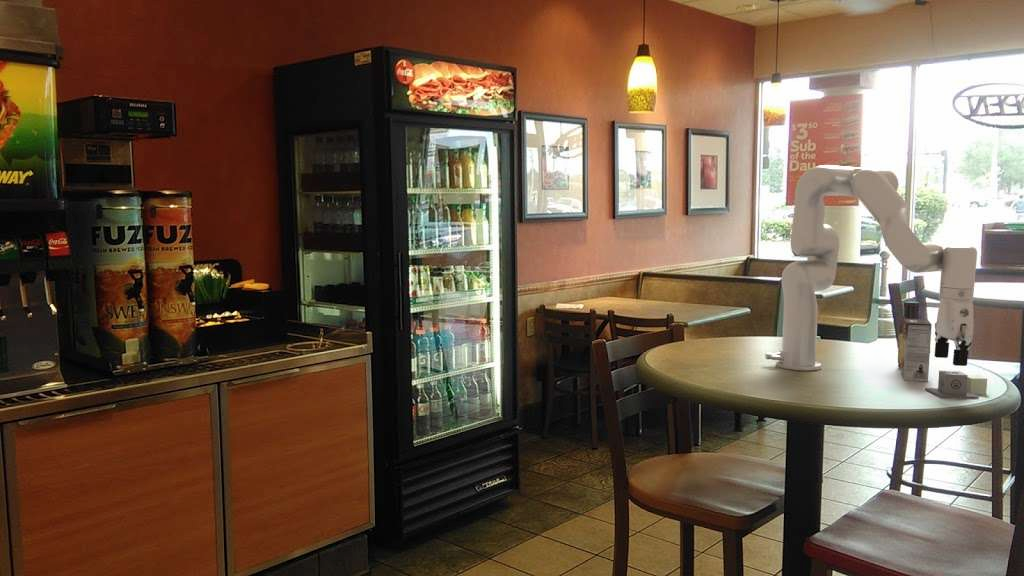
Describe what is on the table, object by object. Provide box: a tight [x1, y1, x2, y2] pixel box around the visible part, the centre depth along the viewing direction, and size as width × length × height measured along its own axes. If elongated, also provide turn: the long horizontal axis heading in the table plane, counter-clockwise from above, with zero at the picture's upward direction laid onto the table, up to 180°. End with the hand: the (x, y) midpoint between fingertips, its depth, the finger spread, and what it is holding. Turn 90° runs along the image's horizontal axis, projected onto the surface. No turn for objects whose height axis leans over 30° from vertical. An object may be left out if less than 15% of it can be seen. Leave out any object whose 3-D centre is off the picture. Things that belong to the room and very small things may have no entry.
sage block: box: [967, 374, 988, 395], centre depth 206 cm, size 4×4×4 cm
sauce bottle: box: [897, 301, 920, 370], centre depth 235 cm, size 7×6×20 cm
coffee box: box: [900, 318, 933, 383], centre depth 222 cm, size 9×6×16 cm
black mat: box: [924, 387, 979, 400], centre depth 203 cm, size 9×9×1 cm
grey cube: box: [937, 370, 969, 395], centre depth 203 cm, size 5×5×5 cm
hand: (950, 361), depth 203 cm, fingers open, 9 cm apart
